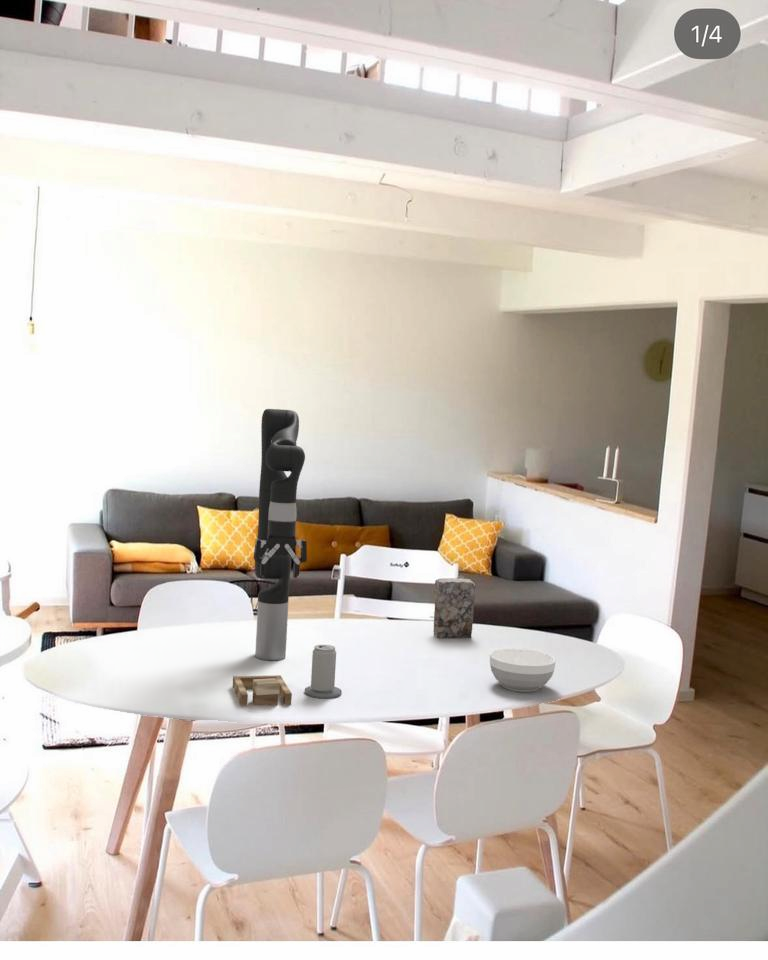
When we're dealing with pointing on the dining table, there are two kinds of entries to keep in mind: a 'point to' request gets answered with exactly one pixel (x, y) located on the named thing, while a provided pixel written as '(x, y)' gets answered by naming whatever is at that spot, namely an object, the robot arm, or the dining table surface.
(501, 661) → the bowl
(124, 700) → the dining table surface
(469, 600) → the stone block
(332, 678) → the beverage can
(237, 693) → the frame
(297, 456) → the robot arm
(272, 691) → the birch offcut
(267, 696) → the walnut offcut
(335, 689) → the slate coaster
